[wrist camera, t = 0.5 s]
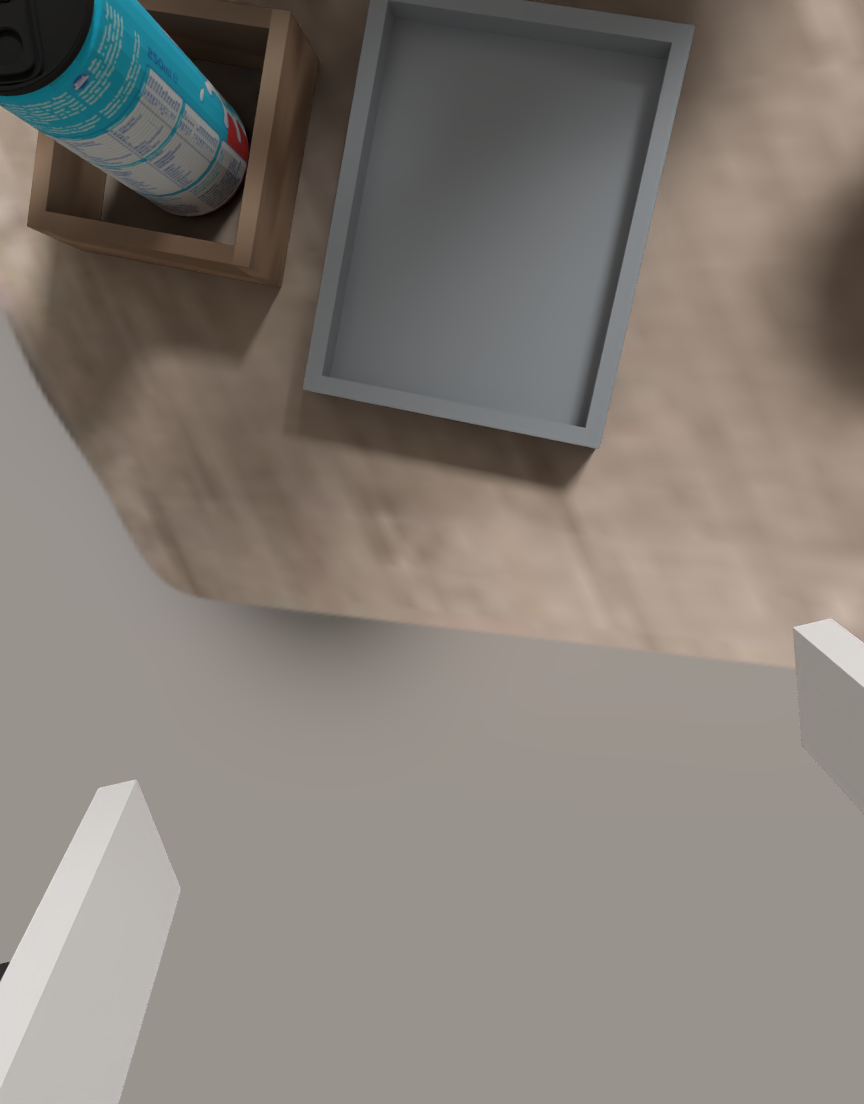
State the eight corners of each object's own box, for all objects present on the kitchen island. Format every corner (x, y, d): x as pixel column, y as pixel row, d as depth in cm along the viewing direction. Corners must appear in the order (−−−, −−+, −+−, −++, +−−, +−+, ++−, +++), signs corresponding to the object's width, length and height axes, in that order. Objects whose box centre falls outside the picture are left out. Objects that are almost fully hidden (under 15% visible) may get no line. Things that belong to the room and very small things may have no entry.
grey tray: (384, 8, 39) (373, -22, 36) (685, 53, 37) (695, 25, 35) (316, 393, 41) (302, 389, 39) (595, 448, 40) (599, 449, 37)
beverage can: (261, 101, 40) (98, -103, 25) (246, 228, 41) (78, 102, 26) (146, 87, 41) (-80, -121, 26) (133, 212, 41) (-94, 81, 27)
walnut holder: (110, 27, 40) (57, -25, 36) (318, 60, 39) (290, 11, 35) (81, 249, 42) (26, 226, 38) (280, 287, 41) (249, 267, 36)
